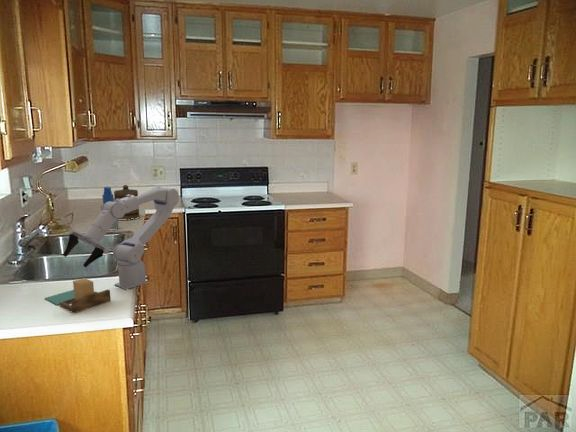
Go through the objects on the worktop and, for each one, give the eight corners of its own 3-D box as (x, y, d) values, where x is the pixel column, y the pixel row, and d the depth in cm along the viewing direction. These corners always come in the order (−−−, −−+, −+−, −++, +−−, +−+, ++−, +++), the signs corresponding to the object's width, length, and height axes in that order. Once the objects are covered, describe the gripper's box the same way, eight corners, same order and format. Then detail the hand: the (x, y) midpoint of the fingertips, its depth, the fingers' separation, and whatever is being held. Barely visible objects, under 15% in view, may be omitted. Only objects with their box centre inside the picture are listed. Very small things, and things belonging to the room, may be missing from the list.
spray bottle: (102, 228, 269) (99, 186, 264) (118, 226, 272) (115, 185, 267) (102, 231, 261) (98, 188, 256) (118, 230, 264) (115, 187, 259)
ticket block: (86, 299, 160) (84, 278, 158) (95, 303, 156) (93, 281, 155) (75, 302, 157) (72, 281, 155) (83, 307, 153) (81, 284, 152)
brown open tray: (95, 294, 165) (95, 284, 164) (110, 300, 159) (109, 290, 158) (59, 305, 154) (58, 294, 154) (73, 313, 148) (72, 301, 148)
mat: (82, 288, 171) (82, 287, 171) (96, 293, 165) (95, 292, 165) (44, 299, 160) (44, 298, 160) (57, 305, 154) (57, 304, 154)
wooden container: (143, 218, 298) (141, 185, 293) (122, 221, 287) (120, 187, 282) (132, 215, 307) (129, 183, 303) (111, 218, 297) (108, 185, 292)
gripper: (78, 215, 157) (53, 246, 150) (115, 235, 157) (92, 267, 151) (81, 223, 163) (57, 254, 156) (117, 242, 163) (94, 273, 157)
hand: (74, 261), depth 154 cm, fingers open, 7 cm apart
